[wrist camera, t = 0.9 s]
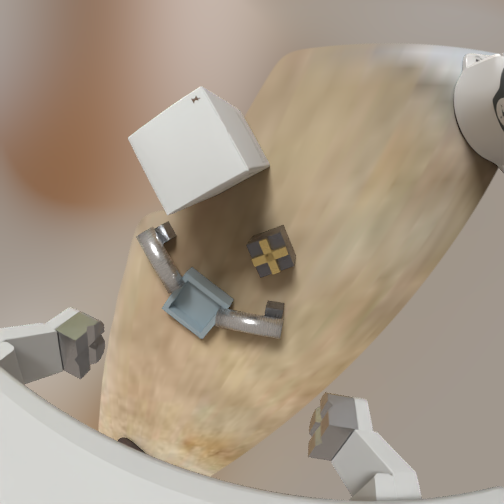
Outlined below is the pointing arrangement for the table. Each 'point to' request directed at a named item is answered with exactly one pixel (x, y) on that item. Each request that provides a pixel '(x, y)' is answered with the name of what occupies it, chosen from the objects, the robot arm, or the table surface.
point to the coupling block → (271, 251)
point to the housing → (197, 303)
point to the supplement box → (197, 150)
